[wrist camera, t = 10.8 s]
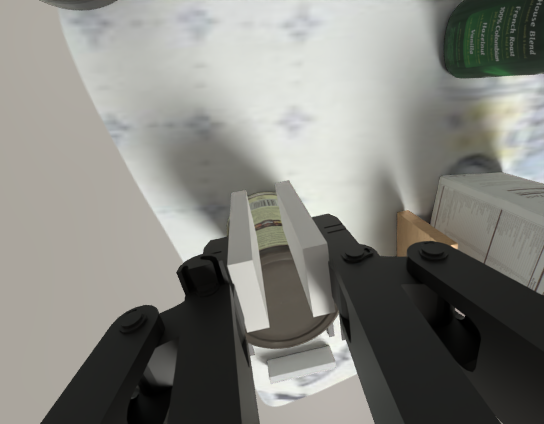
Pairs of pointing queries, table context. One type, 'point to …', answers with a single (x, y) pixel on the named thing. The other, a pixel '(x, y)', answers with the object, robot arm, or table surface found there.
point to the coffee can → (281, 283)
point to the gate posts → (416, 232)
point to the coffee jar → (495, 38)
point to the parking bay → (300, 362)
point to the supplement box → (495, 222)
